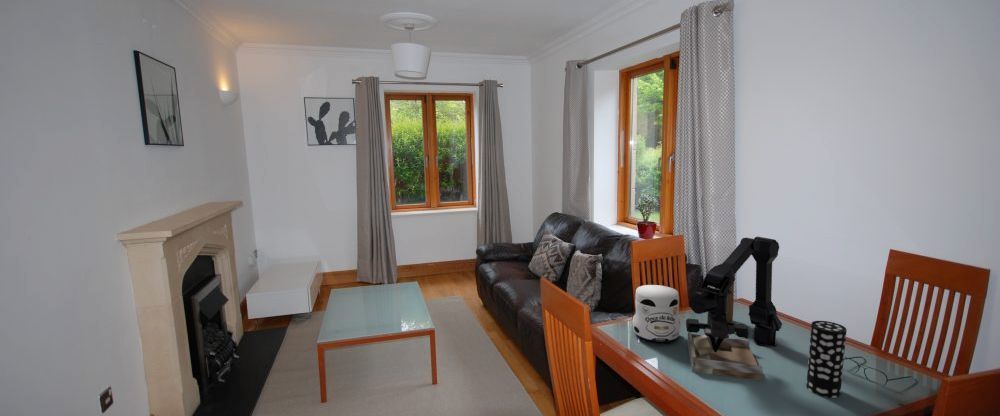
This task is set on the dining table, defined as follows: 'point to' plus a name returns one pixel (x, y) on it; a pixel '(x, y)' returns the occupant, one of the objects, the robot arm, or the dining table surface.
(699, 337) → the beech block
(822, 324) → the spotted tube
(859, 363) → the glasses
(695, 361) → the shallow wooden tray
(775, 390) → the dining table surface
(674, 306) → the milk container
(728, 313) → the block
